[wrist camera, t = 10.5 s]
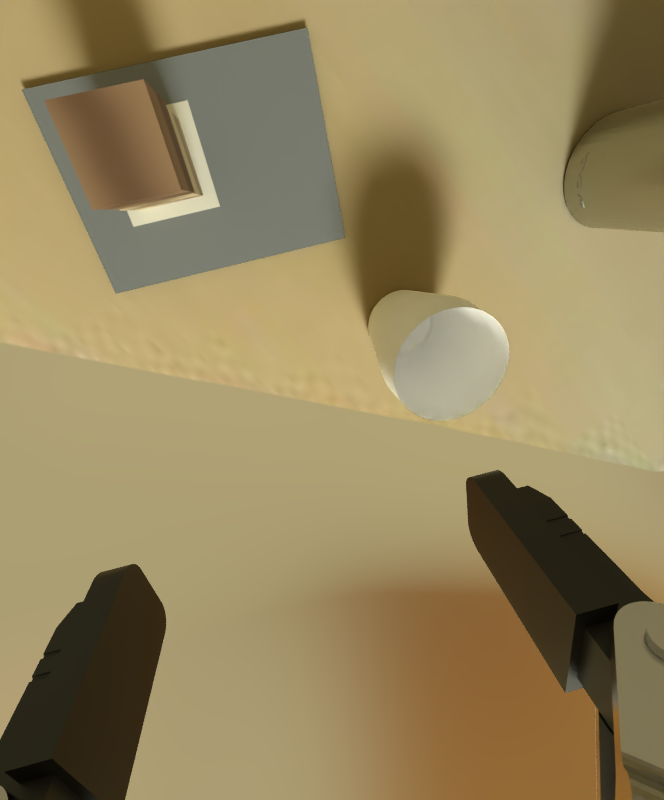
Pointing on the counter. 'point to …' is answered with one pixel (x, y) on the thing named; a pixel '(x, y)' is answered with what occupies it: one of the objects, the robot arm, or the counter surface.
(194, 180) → the maple block
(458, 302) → the cup
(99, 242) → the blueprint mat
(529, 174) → the counter surface
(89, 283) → the counter surface
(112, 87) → the walnut block
